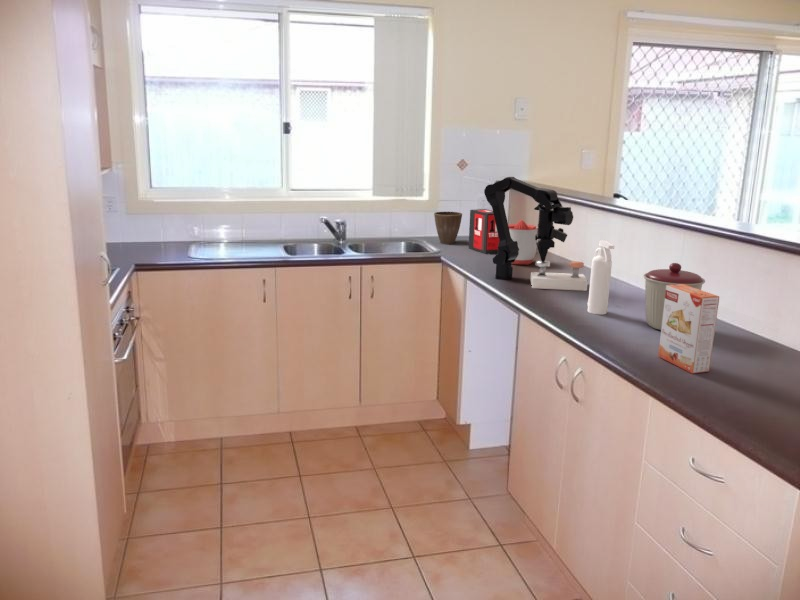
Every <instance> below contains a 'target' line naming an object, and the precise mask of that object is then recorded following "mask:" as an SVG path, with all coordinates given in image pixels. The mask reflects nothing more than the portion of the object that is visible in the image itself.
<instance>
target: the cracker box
mask: <svg viewBox="0 0 800 600" xmlns="http://www.w3.org/2000/svg"><path fill="white" fill-rule="evenodd" d="M719 303H720V296H719V295H717V294H713V293H710V292H707V291H705V290H702V289H701V290H699V289H696V288H693V287H690V286H687V285H684V284H677V285H666V293H665V302H664V311H663V319H662V328H661V330H660V337H659V338H660V339H659V347H658V357H657V358H660V359H662V360H664V361H667V362H668V363H670V364H672V365H675V366H676V367H678V368H680V369H682V370H684V371H686V372H688V373H690V374H692V375H693V374H701V373H709V372H710V370H711V362H712V355H713V347H714V346H713V345H714V339H715V334H716V333H715V332H716V325H717V319H718V312H719V311H718V310H719Z"/></svg>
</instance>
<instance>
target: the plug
mask: <svg viewBox="0 0 800 600" xmlns="http://www.w3.org/2000/svg"><path fill="white" fill-rule="evenodd" d="M535 266H536V267H539V270H538V272H539V275H545V273H546V269H547V267H548V268H549V267H551V261H550V260H546V259H545V261H544V262H542V261H541V259H537V260H535Z"/></svg>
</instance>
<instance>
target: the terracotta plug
mask: <svg viewBox="0 0 800 600" xmlns="http://www.w3.org/2000/svg"><path fill="white" fill-rule="evenodd" d="M584 264H585V263H584V262H583V261H577V260H572V261H571V260H570V261H568V267H570V268H572V273H571V274H572V276H579V274H580V269H582V268H584V266H585V265H584Z"/></svg>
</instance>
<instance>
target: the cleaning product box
mask: <svg viewBox="0 0 800 600" xmlns="http://www.w3.org/2000/svg"><path fill="white" fill-rule="evenodd" d="M498 244H499V236H498V232H497V227H496V223H495V218H494V214H493V210H492V209H491V210H490V209H486V208H484V209H483V208H481V209H470V210H469V232H468V249H469V250H472V251H475V252H477V253H481V254H483V255H492V254H495V255H496V254H498Z"/></svg>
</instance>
